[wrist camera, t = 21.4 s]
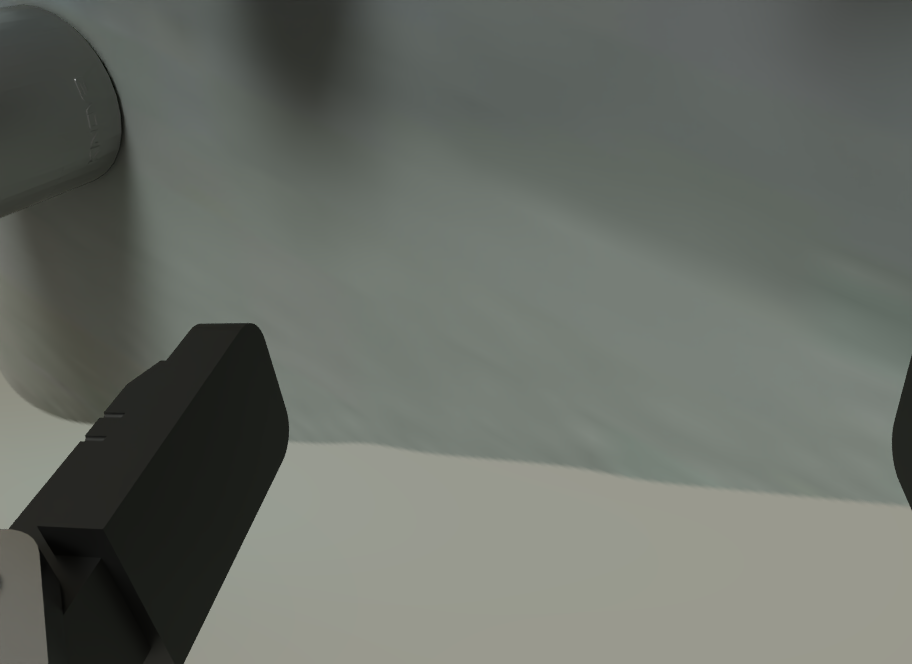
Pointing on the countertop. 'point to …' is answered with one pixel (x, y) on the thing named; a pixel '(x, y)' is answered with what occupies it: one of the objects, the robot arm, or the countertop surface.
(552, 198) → the countertop surface
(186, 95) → the countertop surface
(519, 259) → the countertop surface
